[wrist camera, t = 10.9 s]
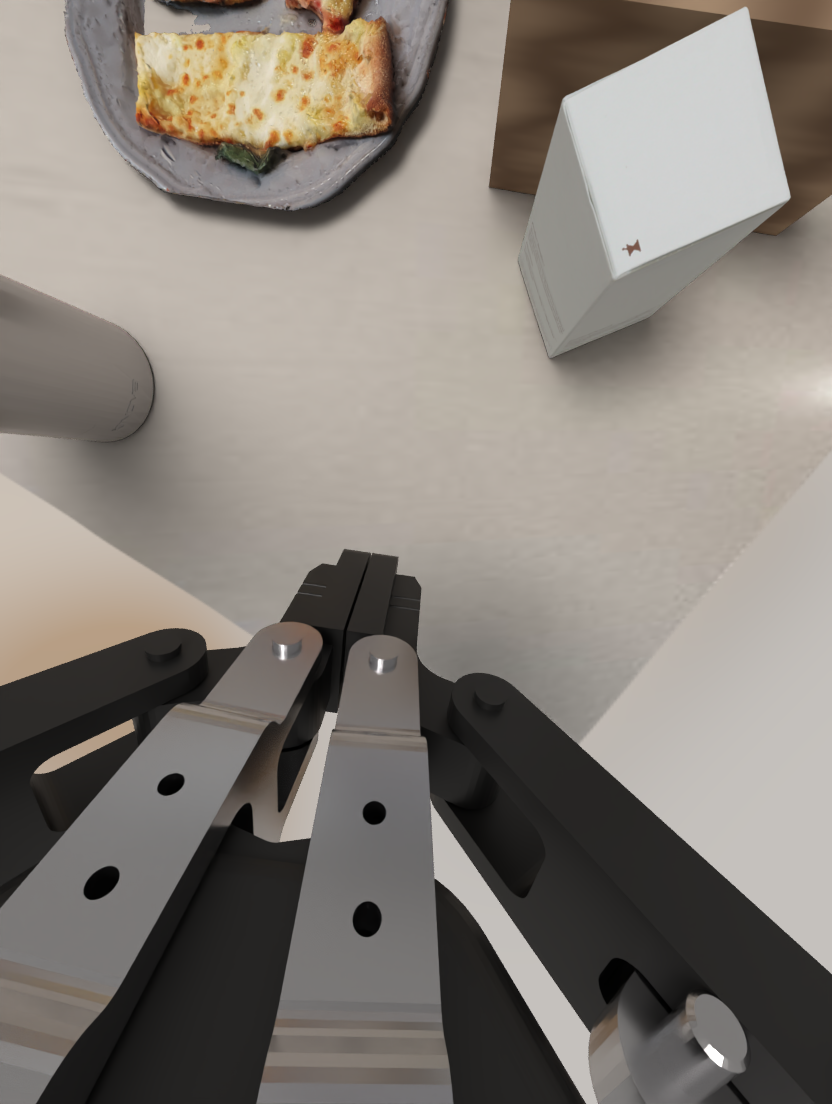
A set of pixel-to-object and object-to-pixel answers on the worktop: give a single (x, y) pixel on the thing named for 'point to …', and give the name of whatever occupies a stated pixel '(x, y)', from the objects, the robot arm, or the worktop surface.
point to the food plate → (255, 91)
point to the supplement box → (650, 184)
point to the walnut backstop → (639, 31)
